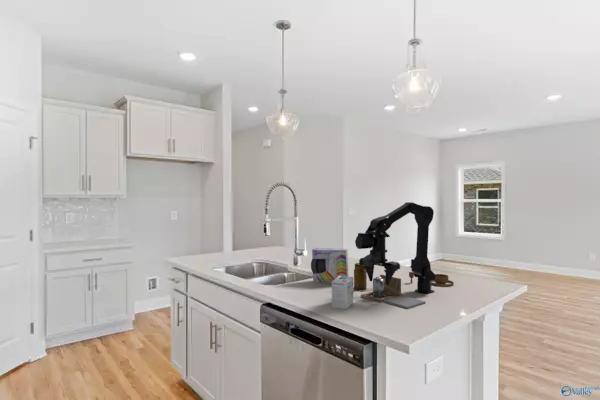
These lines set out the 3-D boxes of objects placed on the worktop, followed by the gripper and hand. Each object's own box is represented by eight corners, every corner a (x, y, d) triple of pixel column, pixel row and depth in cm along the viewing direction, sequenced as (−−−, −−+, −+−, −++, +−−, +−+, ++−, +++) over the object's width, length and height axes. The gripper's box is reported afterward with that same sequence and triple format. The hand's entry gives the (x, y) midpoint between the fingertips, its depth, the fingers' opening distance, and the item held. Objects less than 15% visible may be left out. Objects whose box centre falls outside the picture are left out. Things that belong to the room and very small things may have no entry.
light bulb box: (338, 300, 155) (338, 275, 155) (353, 302, 153) (353, 276, 153) (331, 307, 145) (331, 280, 145) (347, 309, 143) (347, 282, 143)
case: (381, 291, 169) (381, 274, 169) (401, 296, 161) (401, 278, 161) (360, 296, 161) (360, 278, 161) (380, 302, 152) (380, 283, 152)
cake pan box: (310, 282, 189) (310, 248, 189) (313, 280, 193) (313, 247, 193) (347, 285, 183) (347, 249, 182) (349, 282, 187) (349, 248, 187)
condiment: (361, 286, 180) (361, 262, 180) (372, 289, 173) (372, 264, 173) (349, 288, 177) (349, 263, 177) (360, 291, 169) (360, 266, 169)
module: (378, 295, 163) (378, 275, 163) (386, 297, 159) (386, 277, 159) (370, 297, 160) (370, 277, 160) (379, 299, 156) (379, 279, 156)
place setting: (448, 290, 173) (448, 278, 173) (407, 284, 186) (407, 272, 186) (458, 283, 187) (458, 272, 187) (419, 278, 199) (419, 267, 199)
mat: (401, 297, 160) (401, 295, 160) (425, 303, 151) (425, 301, 151) (383, 302, 153) (383, 300, 153) (407, 308, 143) (407, 306, 143)
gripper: (350, 247, 162) (350, 281, 162) (383, 251, 147) (383, 290, 148) (367, 244, 169) (367, 278, 169) (400, 249, 154) (400, 286, 154)
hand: (378, 283), depth 160 cm, fingers open, 9 cm apart
